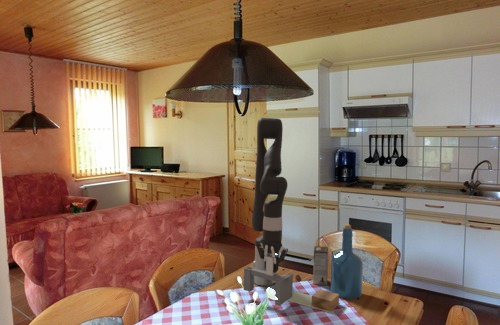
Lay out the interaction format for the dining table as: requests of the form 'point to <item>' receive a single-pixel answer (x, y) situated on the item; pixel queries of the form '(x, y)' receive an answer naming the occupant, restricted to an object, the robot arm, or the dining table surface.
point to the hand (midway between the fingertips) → (271, 270)
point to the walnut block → (325, 300)
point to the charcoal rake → (282, 282)
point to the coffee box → (320, 265)
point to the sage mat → (303, 300)
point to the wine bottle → (346, 269)
